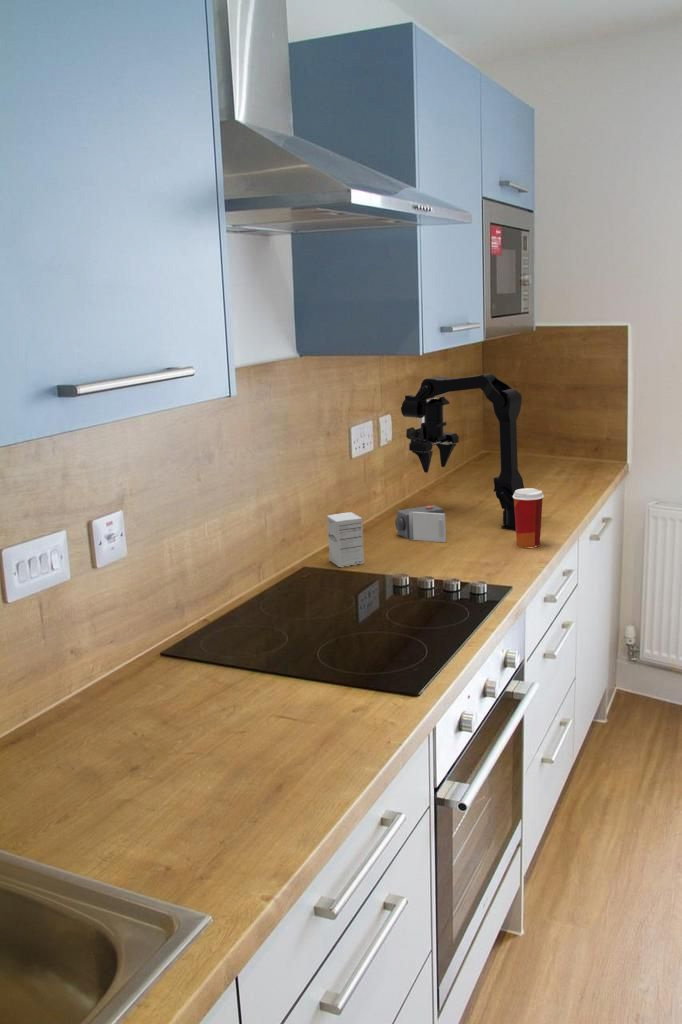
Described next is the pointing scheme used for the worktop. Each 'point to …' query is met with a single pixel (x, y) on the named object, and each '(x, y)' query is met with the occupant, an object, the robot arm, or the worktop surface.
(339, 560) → the supplement box
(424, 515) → the side door
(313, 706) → the worktop surface
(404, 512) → the box
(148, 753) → the worktop surface
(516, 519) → the coffee cup
